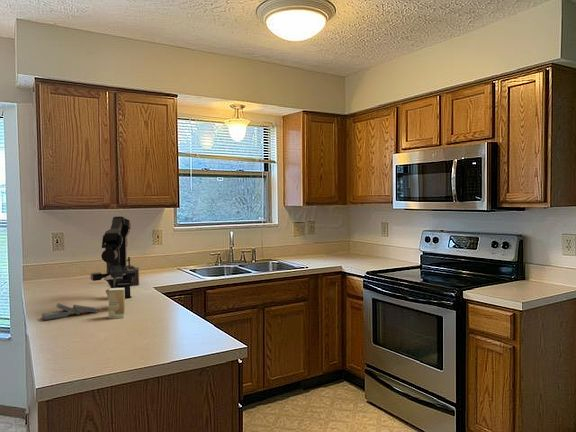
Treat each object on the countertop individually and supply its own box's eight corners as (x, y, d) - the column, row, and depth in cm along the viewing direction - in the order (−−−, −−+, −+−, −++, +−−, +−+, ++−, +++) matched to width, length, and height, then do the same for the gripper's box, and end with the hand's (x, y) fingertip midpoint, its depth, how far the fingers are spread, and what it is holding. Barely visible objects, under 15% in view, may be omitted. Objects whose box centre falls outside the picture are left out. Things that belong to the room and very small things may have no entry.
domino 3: (77, 309, 198) (57, 303, 193) (80, 311, 194) (60, 304, 189) (76, 313, 197) (55, 306, 192) (79, 314, 193) (58, 308, 188)
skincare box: (108, 319, 187) (107, 290, 186) (109, 316, 191) (108, 288, 190) (124, 317, 188) (123, 289, 188) (125, 315, 193) (124, 287, 192)
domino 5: (115, 306, 206) (108, 289, 204) (118, 308, 202) (111, 290, 200) (112, 308, 205) (105, 290, 204) (114, 310, 201) (107, 292, 199)
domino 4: (94, 307, 201) (73, 304, 196) (98, 309, 198) (77, 306, 192) (93, 310, 201) (72, 308, 195) (96, 312, 197) (76, 310, 192)
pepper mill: (139, 282, 270) (139, 252, 270) (138, 285, 260) (137, 255, 259) (112, 283, 266) (111, 254, 266) (110, 287, 256) (109, 256, 255)
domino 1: (64, 309, 194) (42, 313, 188) (68, 311, 191) (45, 315, 184) (64, 313, 194) (42, 317, 188) (68, 315, 191) (46, 319, 184)
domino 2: (65, 313, 195) (41, 316, 190) (66, 315, 191) (42, 318, 186) (65, 316, 195) (42, 319, 190) (66, 319, 191) (43, 322, 186)
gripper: (94, 263, 191) (96, 299, 192) (138, 259, 202) (139, 293, 203) (89, 260, 201) (90, 295, 201) (132, 257, 211) (132, 289, 212)
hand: (114, 293), depth 204 cm, fingers closed
